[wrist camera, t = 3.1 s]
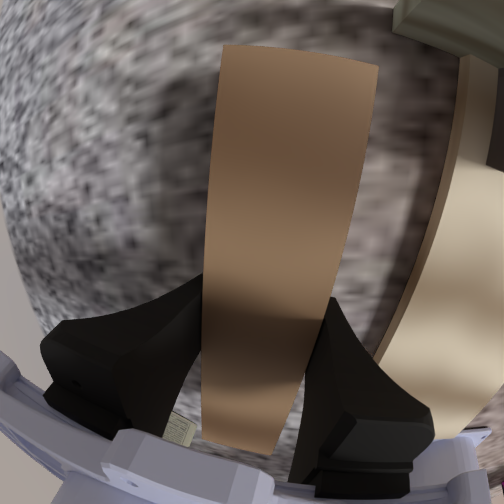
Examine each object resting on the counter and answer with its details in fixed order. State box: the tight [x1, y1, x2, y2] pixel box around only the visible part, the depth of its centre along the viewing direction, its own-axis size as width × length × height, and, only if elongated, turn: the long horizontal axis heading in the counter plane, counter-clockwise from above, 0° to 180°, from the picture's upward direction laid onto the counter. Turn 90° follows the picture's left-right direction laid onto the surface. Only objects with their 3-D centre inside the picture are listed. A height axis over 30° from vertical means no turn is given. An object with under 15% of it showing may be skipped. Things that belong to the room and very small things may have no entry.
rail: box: [201, 45, 379, 455], centre depth 12 cm, size 18×4×4 cm, turn 173°
